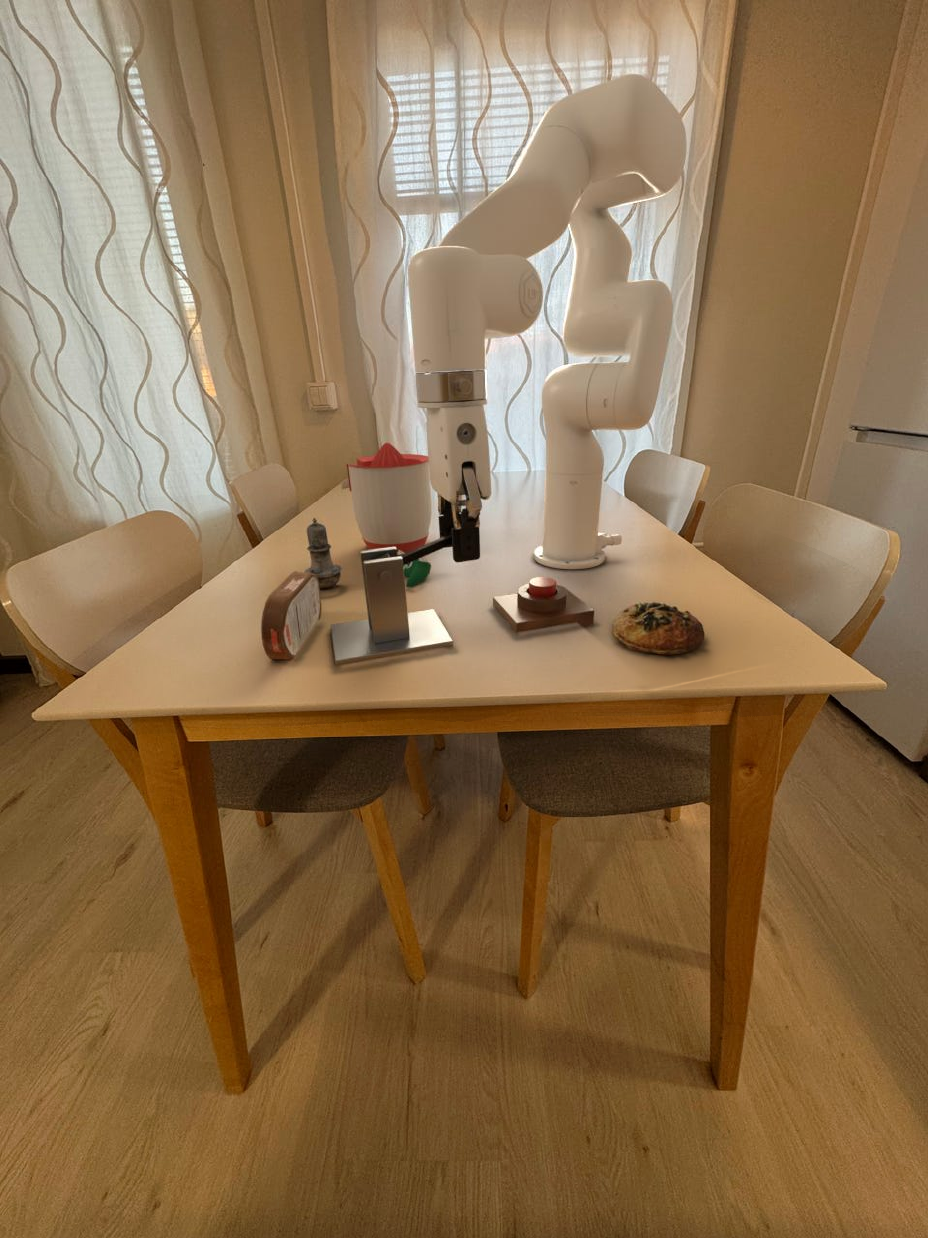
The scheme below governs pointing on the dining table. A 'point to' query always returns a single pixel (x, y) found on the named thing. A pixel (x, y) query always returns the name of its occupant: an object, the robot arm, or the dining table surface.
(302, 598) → the tin
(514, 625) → the button block
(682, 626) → the bread roll
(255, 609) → the dining table surface
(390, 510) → the citrus juicer
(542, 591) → the button
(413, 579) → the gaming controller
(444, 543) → the lever
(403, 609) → the bracket
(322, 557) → the salt shaker
